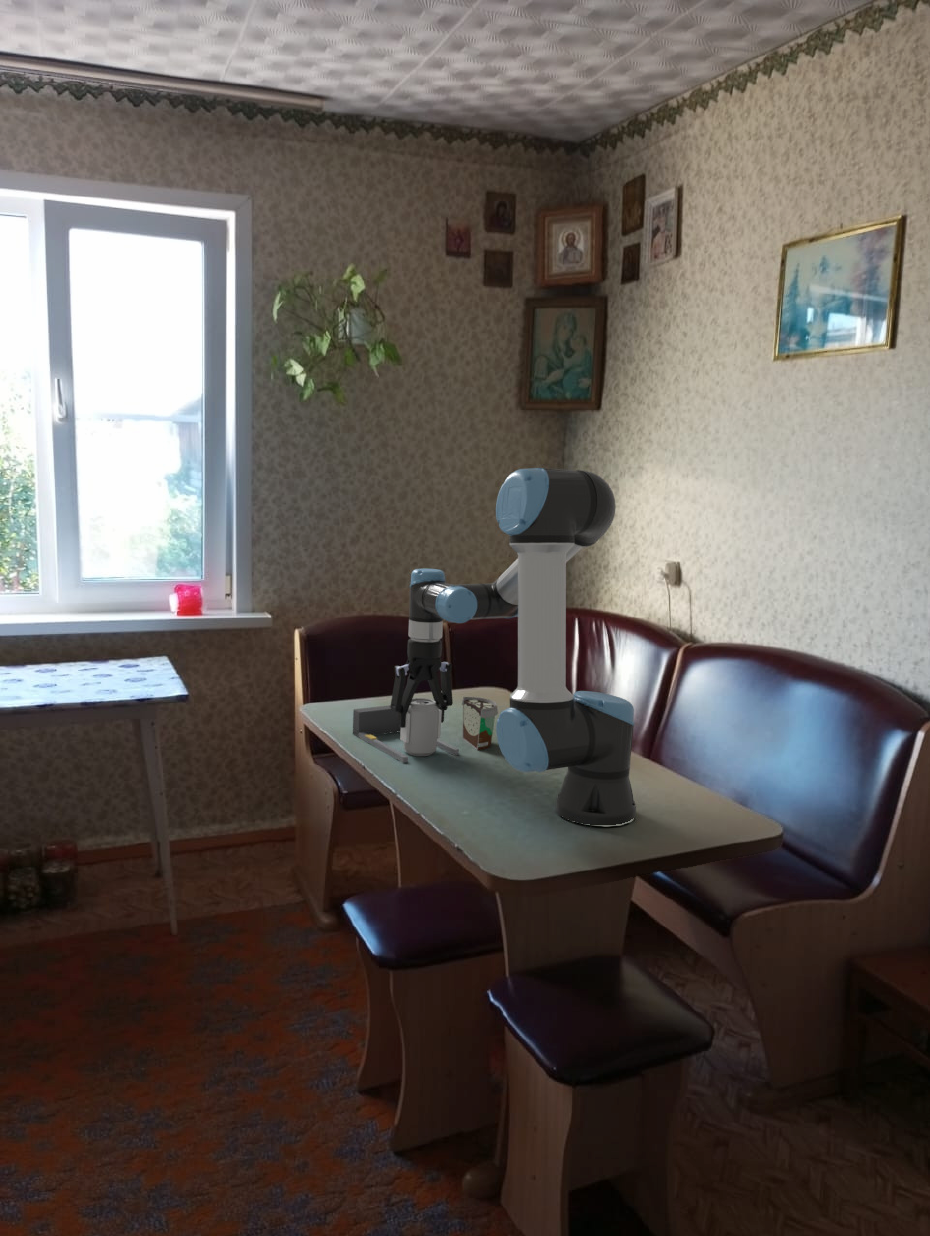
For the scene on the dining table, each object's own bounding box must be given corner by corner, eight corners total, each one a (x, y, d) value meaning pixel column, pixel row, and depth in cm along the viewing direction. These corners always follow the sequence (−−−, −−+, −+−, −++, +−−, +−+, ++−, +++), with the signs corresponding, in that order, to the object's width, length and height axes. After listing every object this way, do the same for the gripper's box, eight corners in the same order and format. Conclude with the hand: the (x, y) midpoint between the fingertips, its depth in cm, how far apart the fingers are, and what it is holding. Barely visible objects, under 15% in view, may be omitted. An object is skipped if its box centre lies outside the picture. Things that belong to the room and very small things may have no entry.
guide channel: (459, 754, 215) (460, 728, 215) (402, 762, 207) (403, 736, 206) (405, 727, 235) (406, 703, 234) (352, 733, 227) (353, 709, 226)
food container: (504, 750, 220) (507, 708, 219) (479, 752, 218) (482, 709, 217) (483, 735, 232) (486, 695, 230) (460, 736, 229) (462, 696, 228)
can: (438, 748, 219) (440, 697, 217) (434, 758, 212) (436, 705, 210) (405, 746, 220) (408, 695, 218) (400, 755, 212) (402, 703, 210)
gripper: (454, 633, 220) (449, 729, 224) (376, 638, 209) (372, 739, 213) (472, 639, 214) (467, 738, 218) (393, 644, 203) (388, 748, 206)
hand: (420, 738), depth 215 cm, fingers closed on can, 7 cm apart
